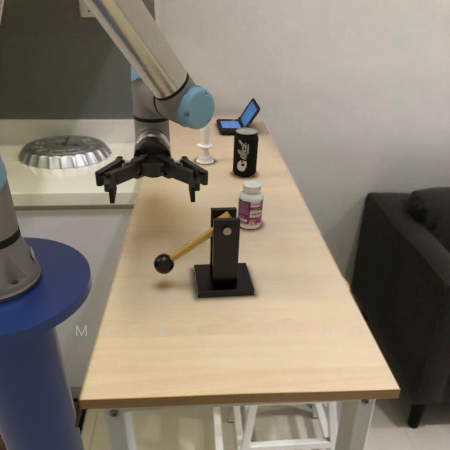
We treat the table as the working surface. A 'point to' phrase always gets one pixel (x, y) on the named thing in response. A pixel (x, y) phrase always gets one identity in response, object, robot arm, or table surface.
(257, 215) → the pill bottle
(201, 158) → the candle
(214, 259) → the stand
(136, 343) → the table surface
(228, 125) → the game console
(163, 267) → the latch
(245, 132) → the beverage can
